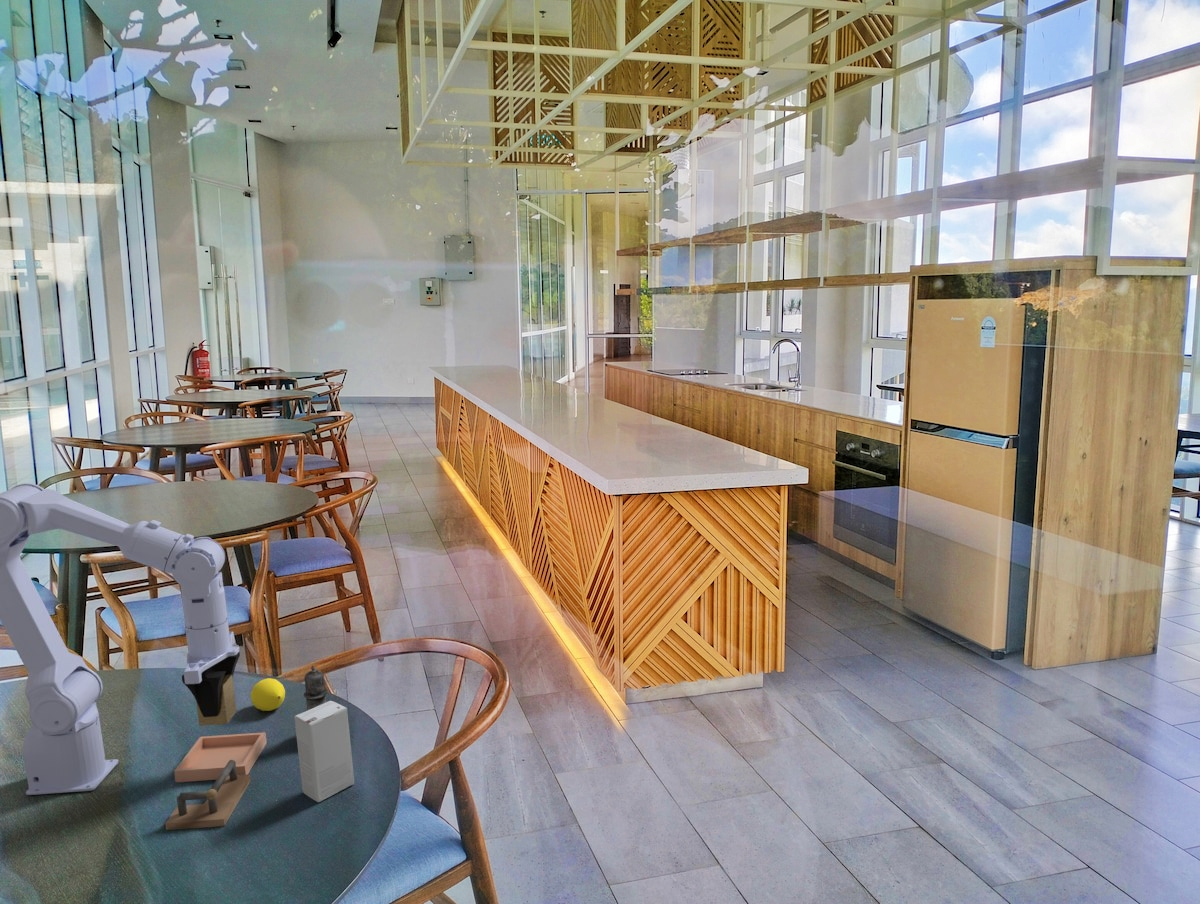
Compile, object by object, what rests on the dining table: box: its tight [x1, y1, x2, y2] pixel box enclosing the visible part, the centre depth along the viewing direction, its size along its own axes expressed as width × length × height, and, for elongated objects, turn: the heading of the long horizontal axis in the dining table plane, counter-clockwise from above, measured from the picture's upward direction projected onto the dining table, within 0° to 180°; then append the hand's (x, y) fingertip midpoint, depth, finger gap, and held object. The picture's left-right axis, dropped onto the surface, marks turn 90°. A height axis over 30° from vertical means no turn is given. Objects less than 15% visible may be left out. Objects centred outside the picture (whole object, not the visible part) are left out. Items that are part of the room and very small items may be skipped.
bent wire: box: [164, 760, 252, 831], centre depth 120 cm, size 8×11×4 cm
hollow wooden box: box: [195, 674, 237, 727], centre depth 129 cm, size 4×4×6 cm
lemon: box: [249, 677, 286, 712], centre depth 147 cm, size 7×5×5 cm
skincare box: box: [294, 700, 355, 803], centre depth 121 cm, size 6×4×12 cm
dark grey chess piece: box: [303, 665, 328, 711], centre depth 137 cm, size 6×6×12 cm
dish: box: [173, 731, 268, 783], centre depth 131 cm, size 10×10×2 cm
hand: (216, 708), depth 129 cm, fingers closed on hollow wooden box, 4 cm apart
